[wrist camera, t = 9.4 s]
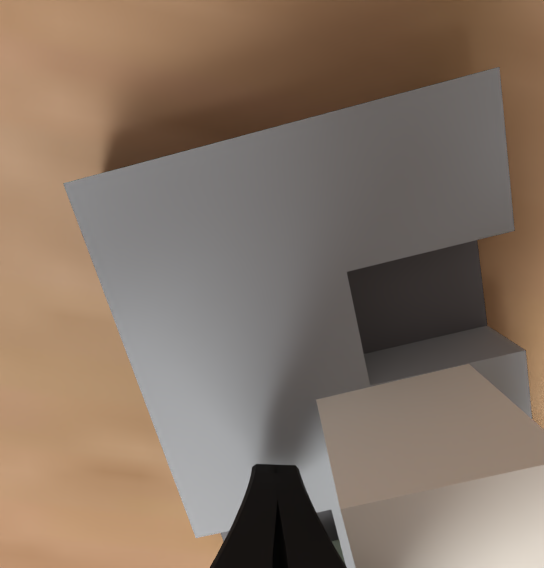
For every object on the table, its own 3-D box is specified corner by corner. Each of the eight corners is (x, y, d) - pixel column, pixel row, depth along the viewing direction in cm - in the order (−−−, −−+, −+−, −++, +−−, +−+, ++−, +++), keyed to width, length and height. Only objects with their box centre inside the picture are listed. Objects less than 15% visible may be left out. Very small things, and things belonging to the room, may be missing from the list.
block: (315, 399, 11) (339, 509, 7) (468, 363, 11) (576, 457, 7) (347, 521, 12) (383, 673, 8) (487, 491, 12) (590, 634, 8)
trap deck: (100, 183, 12) (26, 183, 8) (455, 89, 11) (542, 44, 8) (262, 645, 17) (260, 771, 13) (516, 596, 16) (587, 713, 13)
